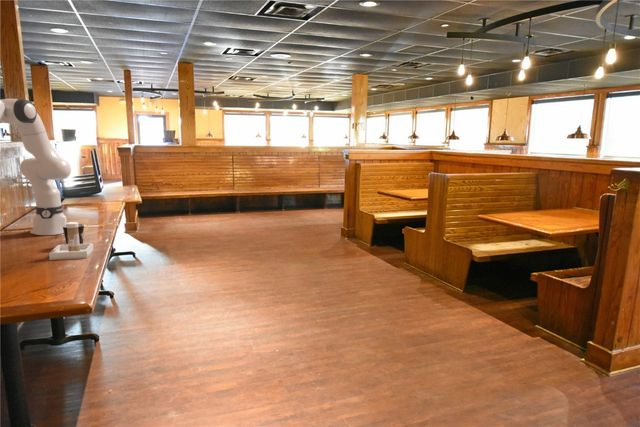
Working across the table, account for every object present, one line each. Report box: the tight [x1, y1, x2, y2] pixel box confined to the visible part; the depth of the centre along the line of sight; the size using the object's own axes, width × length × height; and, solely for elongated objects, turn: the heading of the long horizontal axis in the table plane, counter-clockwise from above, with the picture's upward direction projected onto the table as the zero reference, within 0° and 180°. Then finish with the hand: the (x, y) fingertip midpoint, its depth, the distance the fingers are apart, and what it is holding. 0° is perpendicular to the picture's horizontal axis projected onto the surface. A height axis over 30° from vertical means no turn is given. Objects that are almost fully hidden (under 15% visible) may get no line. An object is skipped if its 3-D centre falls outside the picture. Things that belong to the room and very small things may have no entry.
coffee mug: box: [63, 223, 85, 245], centre depth 202 cm, size 12×9×10 cm
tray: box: [48, 242, 94, 261], centre depth 188 cm, size 14×14×3 cm
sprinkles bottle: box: [66, 221, 80, 252], centre depth 187 cm, size 5×5×13 cm
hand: (15, 181), depth 177 cm, fingers open, 8 cm apart
